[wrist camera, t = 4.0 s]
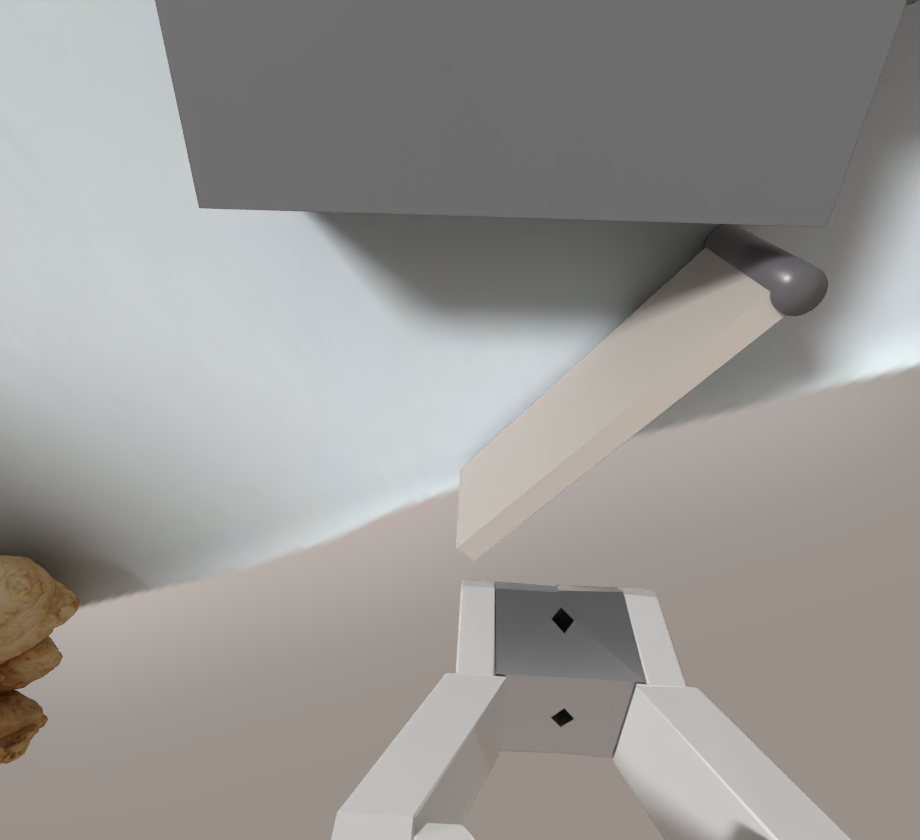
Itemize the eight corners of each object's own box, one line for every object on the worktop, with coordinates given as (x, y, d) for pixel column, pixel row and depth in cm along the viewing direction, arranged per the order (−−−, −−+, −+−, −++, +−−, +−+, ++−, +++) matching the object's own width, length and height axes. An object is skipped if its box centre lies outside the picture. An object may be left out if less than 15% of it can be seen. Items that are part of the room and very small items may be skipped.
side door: (489, 489, 22) (491, 577, 18) (456, 464, 22) (451, 550, 18) (763, 255, 17) (851, 306, 13) (729, 215, 17) (810, 255, 12)
